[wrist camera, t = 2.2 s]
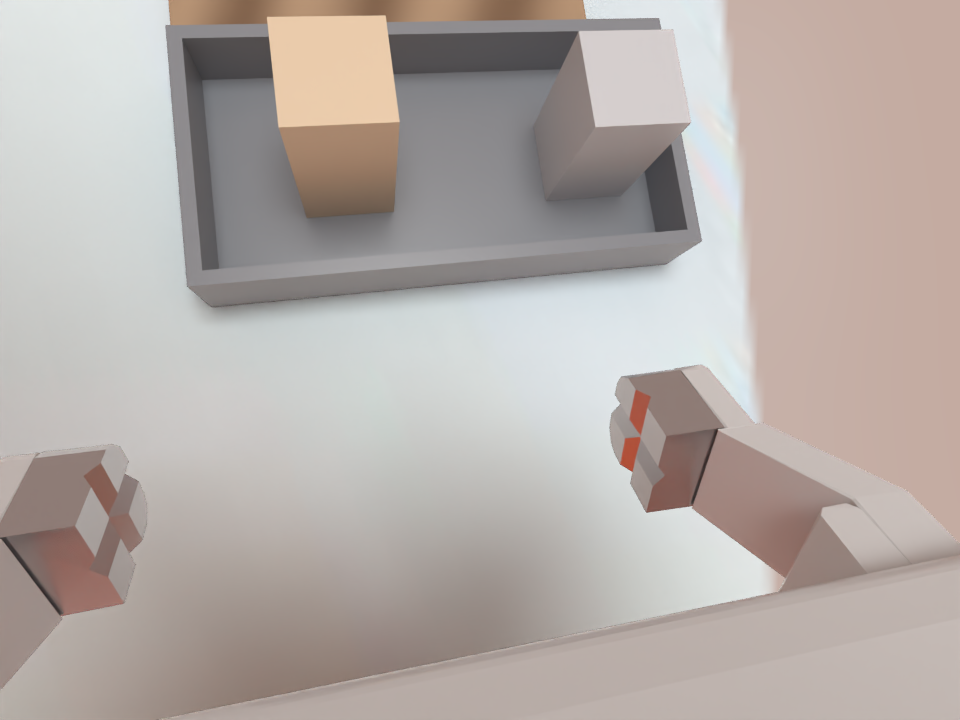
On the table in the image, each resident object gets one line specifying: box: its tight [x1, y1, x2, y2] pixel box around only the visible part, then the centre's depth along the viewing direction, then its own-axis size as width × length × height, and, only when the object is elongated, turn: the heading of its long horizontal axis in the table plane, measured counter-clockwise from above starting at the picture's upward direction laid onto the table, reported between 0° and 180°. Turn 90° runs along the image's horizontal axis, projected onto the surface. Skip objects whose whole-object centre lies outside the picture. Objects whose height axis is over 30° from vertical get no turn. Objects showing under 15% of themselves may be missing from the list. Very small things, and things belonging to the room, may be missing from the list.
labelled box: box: [267, 15, 400, 218], centre depth 24 cm, size 4×4×8 cm
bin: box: [165, 18, 702, 307], centre depth 28 cm, size 22×11×4 cm, turn 98°
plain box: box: [534, 29, 691, 201], centre depth 27 cm, size 4×4×7 cm
